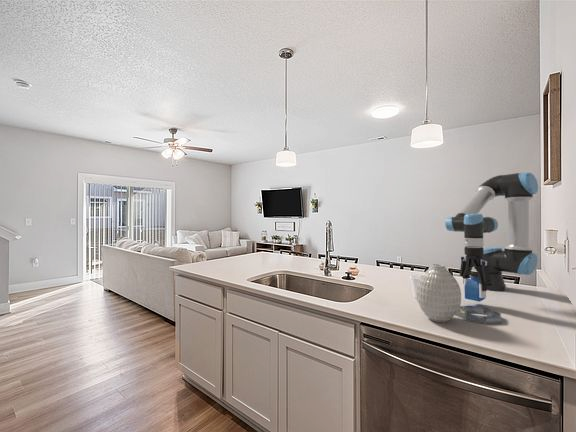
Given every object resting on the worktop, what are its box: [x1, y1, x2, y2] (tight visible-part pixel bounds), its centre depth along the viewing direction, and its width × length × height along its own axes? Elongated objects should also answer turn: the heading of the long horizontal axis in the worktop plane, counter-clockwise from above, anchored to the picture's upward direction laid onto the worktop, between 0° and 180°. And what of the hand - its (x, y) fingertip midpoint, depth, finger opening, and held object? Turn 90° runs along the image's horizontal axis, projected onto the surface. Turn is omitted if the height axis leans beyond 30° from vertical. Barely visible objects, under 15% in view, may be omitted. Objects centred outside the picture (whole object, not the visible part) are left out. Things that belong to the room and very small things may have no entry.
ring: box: [454, 305, 502, 325], centre depth 117 cm, size 16×16×3 cm
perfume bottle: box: [464, 272, 486, 302], centre depth 131 cm, size 6×6×12 cm
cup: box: [409, 274, 423, 300], centre depth 142 cm, size 10×10×11 cm
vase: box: [416, 263, 462, 323], centre depth 114 cm, size 16×16×22 cm
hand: (474, 294), depth 131 cm, fingers closed on perfume bottle, 8 cm apart
